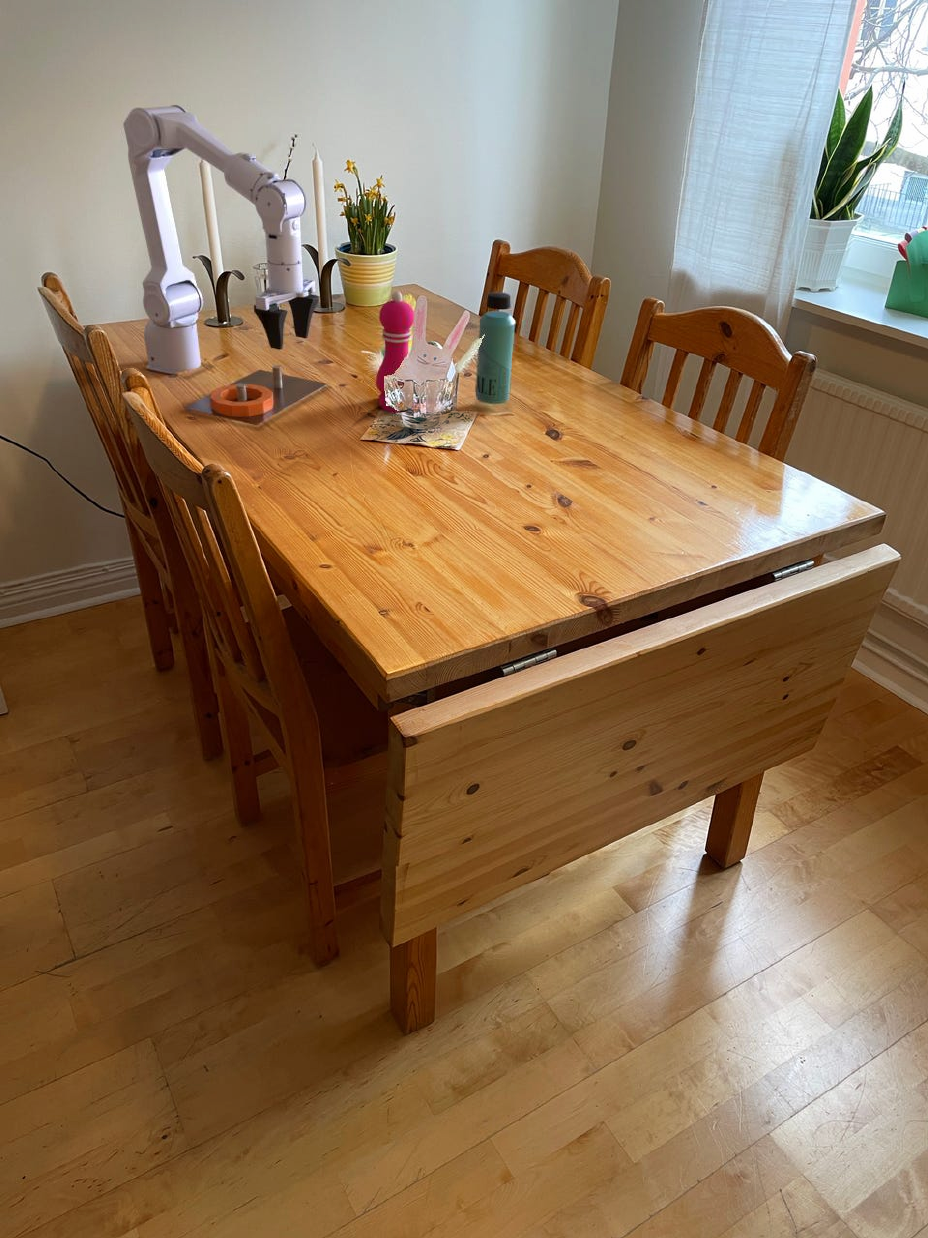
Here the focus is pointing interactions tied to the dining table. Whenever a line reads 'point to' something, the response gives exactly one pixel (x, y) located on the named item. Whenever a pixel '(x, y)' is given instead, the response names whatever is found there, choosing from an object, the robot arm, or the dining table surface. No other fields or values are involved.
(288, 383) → the peg board
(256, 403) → the ring
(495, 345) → the beverage bottle
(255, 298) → the robot arm
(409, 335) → the pepper mill
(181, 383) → the dining table surface
